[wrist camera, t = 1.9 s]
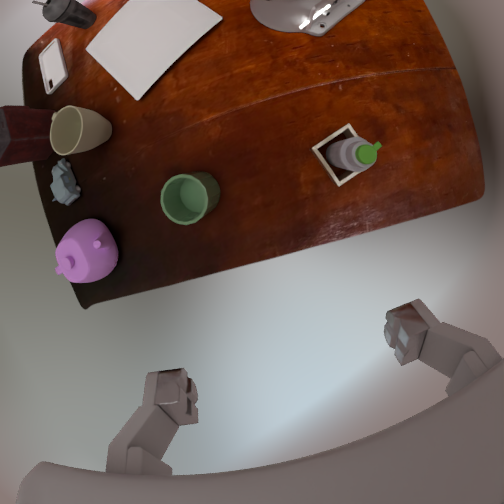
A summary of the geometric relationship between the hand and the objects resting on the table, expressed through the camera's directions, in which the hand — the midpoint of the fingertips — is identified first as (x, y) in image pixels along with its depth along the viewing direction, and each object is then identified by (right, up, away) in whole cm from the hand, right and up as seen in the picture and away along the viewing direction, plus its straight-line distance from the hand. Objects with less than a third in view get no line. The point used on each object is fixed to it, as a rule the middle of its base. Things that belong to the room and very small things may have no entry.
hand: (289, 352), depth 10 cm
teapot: (-35, +6, +47) cm, 59 cm away
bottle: (+13, +20, +35) cm, 43 cm away
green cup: (-11, +15, +40) cm, 44 cm away
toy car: (-44, +20, +44) cm, 65 cm away
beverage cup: (-40, +58, +30) cm, 76 cm away
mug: (-33, +29, +39) cm, 59 cm away
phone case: (-50, +50, +34) cm, 78 cm away
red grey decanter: (-50, +33, +40) cm, 72 cm away
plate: (-22, +48, +31) cm, 61 cm away
